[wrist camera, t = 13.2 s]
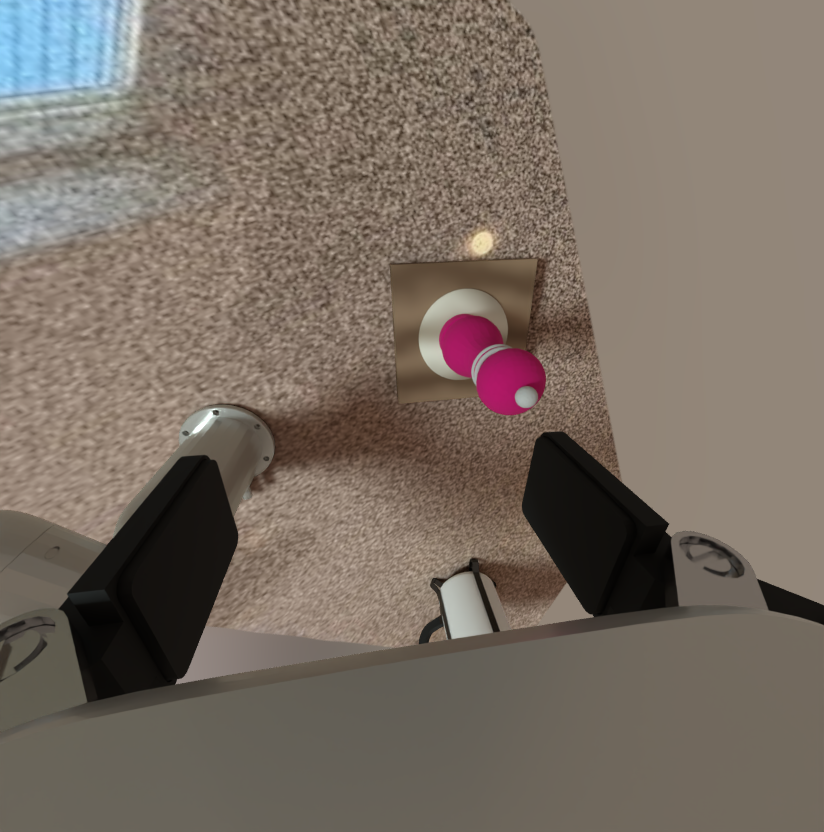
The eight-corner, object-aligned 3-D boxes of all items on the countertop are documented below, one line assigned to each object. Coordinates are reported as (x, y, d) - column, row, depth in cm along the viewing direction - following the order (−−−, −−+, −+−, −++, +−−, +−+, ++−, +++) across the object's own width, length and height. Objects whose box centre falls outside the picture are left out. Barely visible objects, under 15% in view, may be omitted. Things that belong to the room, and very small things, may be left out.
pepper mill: (436, 367, 45) (485, 446, 27) (433, 312, 42) (488, 363, 24) (487, 360, 46) (568, 434, 28) (489, 306, 42) (582, 351, 25)
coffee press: (439, 553, 66) (491, 756, 40) (507, 561, 71) (595, 751, 44) (411, 607, 73) (440, 811, 47) (475, 612, 78) (534, 802, 51)
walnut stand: (512, 386, 51) (520, 394, 49) (397, 396, 49) (399, 404, 47) (528, 258, 43) (538, 258, 40) (389, 263, 41) (391, 265, 38)
